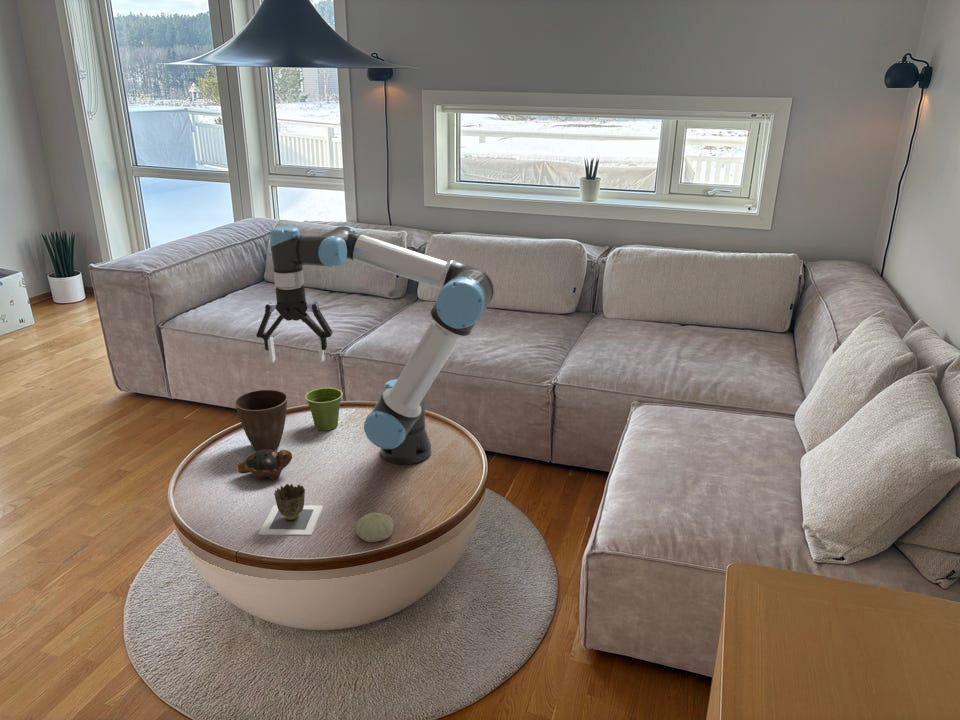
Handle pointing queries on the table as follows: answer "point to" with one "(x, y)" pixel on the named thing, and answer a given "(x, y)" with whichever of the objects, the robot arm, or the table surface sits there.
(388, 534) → the sea urchin shell
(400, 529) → the table surface
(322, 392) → the plant pot
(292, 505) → the cup
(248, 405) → the plant pot
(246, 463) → the decorative turtle
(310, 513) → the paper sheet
